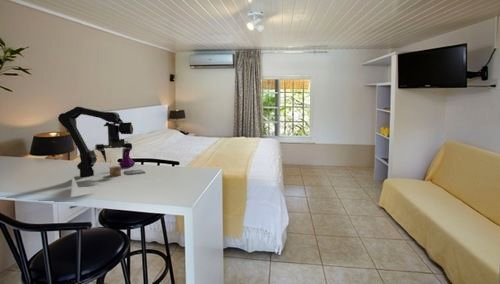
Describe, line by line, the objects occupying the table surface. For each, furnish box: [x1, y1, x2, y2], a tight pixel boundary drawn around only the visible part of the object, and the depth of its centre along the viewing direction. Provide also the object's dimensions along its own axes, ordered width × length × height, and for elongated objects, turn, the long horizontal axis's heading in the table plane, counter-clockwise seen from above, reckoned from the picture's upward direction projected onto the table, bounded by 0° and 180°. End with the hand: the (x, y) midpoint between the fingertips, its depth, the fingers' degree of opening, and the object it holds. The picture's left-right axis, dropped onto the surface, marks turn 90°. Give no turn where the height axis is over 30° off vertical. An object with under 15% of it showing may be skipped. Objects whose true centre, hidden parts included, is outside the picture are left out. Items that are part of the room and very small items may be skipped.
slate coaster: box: [123, 169, 146, 176], centre depth 178 cm, size 10×10×1 cm
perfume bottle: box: [118, 140, 136, 169], centre depth 193 cm, size 8×8×18 cm
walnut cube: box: [109, 165, 122, 178], centre depth 170 cm, size 5×5×5 cm
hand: (114, 161), depth 170 cm, fingers open, 9 cm apart
